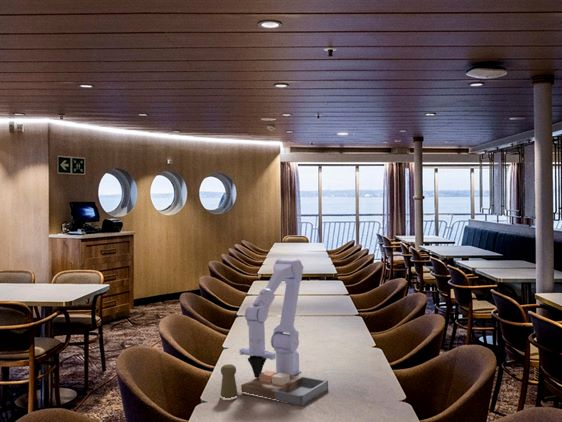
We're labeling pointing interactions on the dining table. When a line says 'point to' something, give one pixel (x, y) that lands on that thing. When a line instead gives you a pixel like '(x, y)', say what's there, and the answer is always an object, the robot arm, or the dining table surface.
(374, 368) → the dining table surface
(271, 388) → the tan slab
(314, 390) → the box
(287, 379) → the cream tile
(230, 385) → the cork
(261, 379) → the terracotta tile
